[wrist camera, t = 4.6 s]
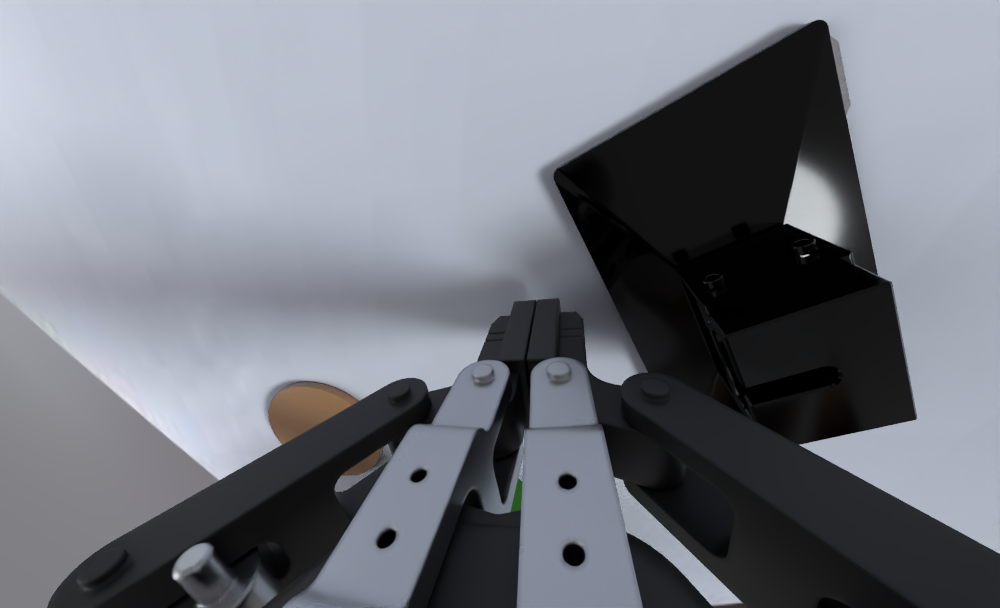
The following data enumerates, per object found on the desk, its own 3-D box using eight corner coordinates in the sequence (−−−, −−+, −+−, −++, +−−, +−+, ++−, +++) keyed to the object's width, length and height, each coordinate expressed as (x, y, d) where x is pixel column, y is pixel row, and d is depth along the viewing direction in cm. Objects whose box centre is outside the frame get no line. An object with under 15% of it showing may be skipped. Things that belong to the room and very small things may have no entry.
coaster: (253, 383, 17) (247, 388, 17) (360, 379, 16) (355, 385, 16) (302, 468, 20) (297, 474, 20) (398, 471, 19) (395, 477, 18)
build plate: (550, 171, 11) (539, 194, 7) (826, 11, 8) (1074, -106, 4) (685, 447, 15) (731, 571, 11) (906, 396, 12) (1080, 531, 8)
